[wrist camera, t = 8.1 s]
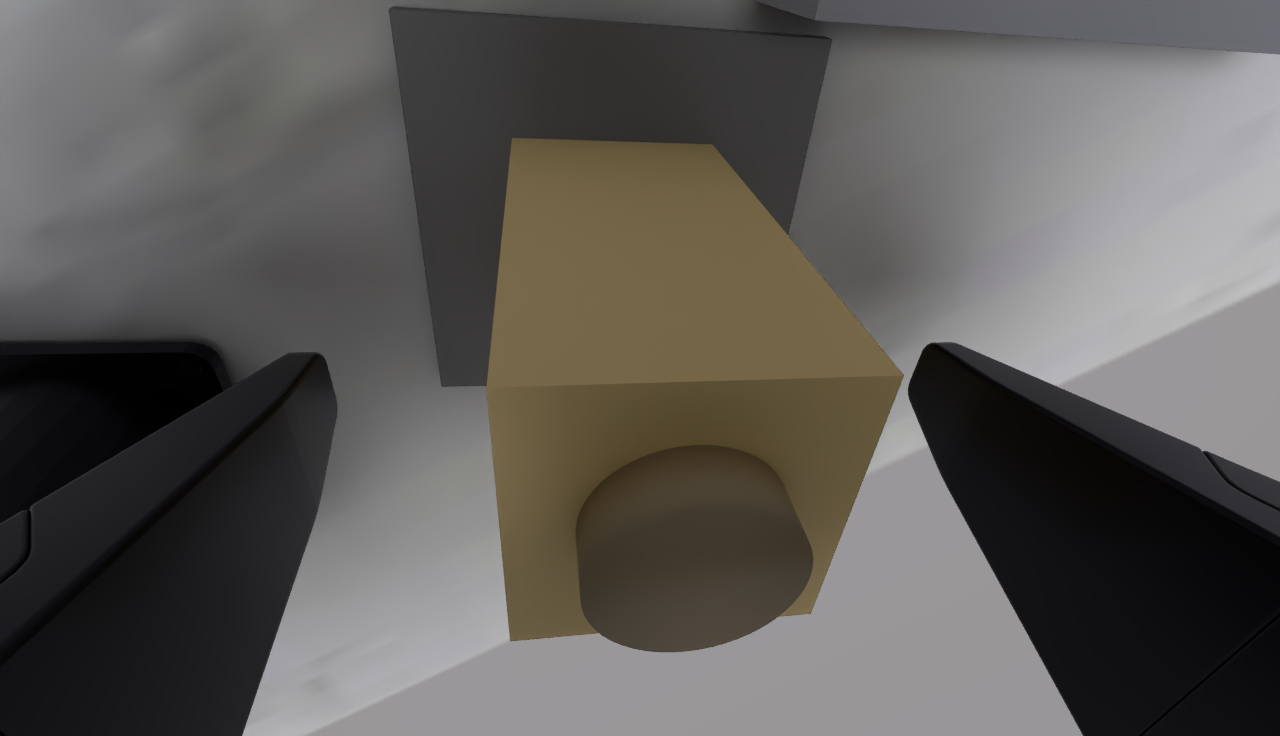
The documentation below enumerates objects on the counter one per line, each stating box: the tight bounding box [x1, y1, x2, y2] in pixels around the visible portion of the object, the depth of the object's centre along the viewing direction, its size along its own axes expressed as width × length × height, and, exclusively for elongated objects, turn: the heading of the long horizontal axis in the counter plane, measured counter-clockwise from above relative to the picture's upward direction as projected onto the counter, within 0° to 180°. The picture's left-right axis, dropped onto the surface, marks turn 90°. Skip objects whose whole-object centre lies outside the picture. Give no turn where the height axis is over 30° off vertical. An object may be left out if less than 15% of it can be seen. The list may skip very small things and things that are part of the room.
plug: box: [486, 138, 904, 652], centre depth 10 cm, size 4×4×9 cm
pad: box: [389, 7, 832, 387], centre depth 13 cm, size 8×8×1 cm
